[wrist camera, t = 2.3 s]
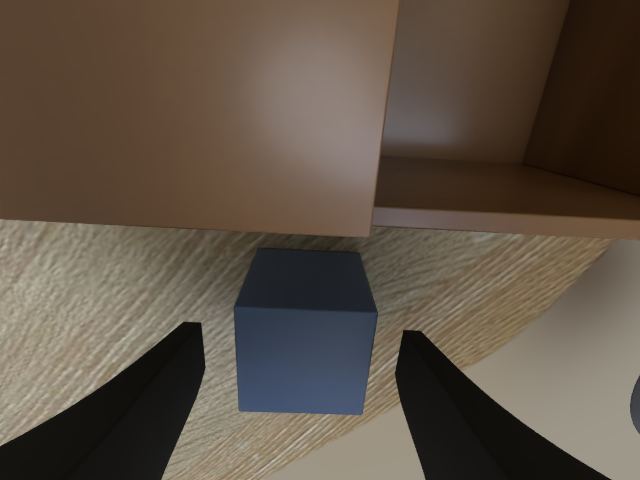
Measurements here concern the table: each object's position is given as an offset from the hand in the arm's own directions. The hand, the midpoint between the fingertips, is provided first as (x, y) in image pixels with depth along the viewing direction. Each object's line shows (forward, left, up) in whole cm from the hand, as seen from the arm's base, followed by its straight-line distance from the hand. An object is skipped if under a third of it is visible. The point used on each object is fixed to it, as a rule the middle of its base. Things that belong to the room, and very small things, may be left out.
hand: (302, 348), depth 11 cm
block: (0, 0, -4) cm, 4 cm away
